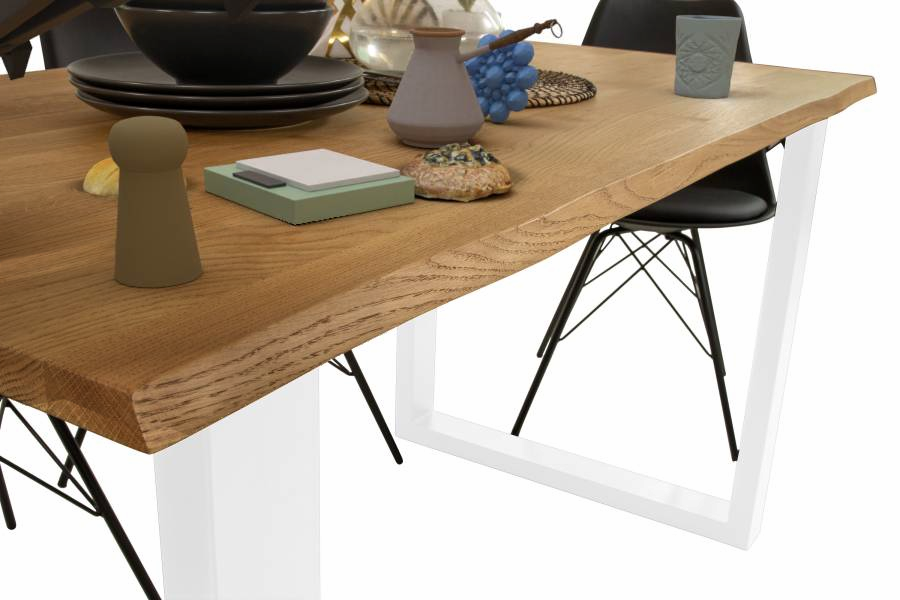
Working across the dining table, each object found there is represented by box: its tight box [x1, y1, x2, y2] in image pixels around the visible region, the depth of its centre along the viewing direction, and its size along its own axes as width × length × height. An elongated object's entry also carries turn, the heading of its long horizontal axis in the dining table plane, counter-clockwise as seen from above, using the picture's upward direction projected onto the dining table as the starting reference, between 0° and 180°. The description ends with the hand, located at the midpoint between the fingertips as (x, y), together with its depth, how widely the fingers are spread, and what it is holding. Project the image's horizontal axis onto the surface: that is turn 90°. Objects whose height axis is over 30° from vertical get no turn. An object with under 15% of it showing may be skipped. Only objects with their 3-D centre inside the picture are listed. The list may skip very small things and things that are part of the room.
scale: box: [203, 148, 415, 226], centre depth 92 cm, size 13×15×3 cm
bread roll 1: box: [82, 156, 188, 199], centre depth 90 cm, size 8×9×4 cm
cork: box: [107, 115, 204, 288], centre depth 69 cm, size 6×6×11 cm
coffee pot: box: [386, 18, 564, 149], centre depth 114 cm, size 21×12×15 cm, turn 57°
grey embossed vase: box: [673, 14, 743, 99], centre depth 159 cm, size 10×10×12 cm
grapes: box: [464, 29, 539, 124], centre depth 131 cm, size 12×7×12 cm, turn 52°
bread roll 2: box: [400, 143, 515, 203], centre depth 96 cm, size 11×11×5 cm
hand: (123, 27), depth 60 cm, fingers open, 13 cm apart
